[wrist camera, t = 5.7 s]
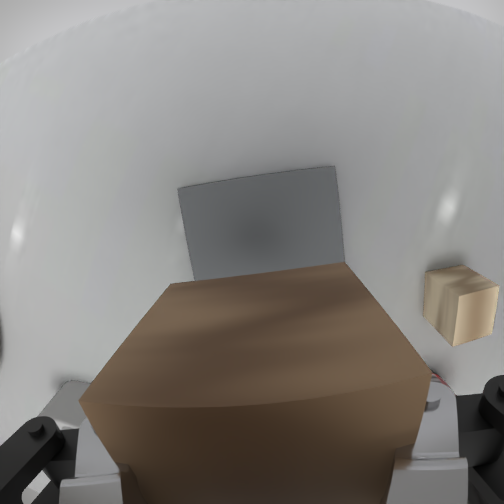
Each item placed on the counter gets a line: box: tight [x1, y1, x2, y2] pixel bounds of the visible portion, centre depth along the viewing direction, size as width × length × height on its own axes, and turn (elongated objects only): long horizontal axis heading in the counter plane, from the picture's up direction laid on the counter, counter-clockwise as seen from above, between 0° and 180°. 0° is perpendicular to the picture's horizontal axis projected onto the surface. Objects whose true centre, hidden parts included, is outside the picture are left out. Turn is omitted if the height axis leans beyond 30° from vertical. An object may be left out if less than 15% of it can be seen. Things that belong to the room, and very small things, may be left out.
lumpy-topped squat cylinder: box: [37, 381, 90, 430], centre depth 27 cm, size 10×13×9 cm
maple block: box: [423, 265, 499, 347], centre depth 22 cm, size 4×4×6 cm
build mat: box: [178, 166, 345, 281], centre depth 25 cm, size 12×12×1 cm
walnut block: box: [78, 262, 432, 504], centre depth 8 cm, size 6×6×6 cm
